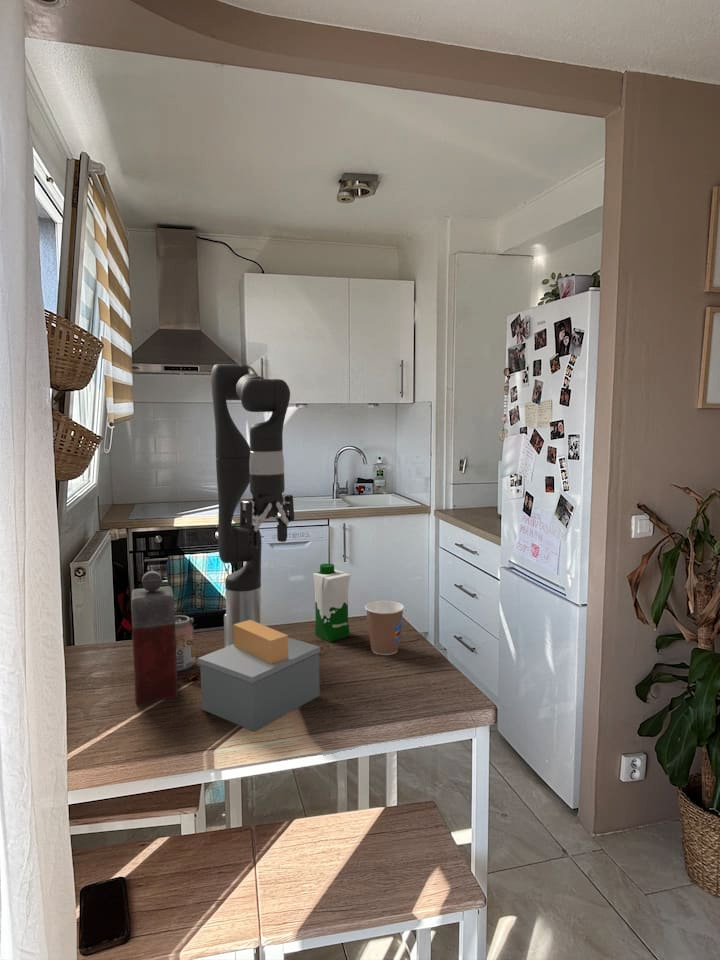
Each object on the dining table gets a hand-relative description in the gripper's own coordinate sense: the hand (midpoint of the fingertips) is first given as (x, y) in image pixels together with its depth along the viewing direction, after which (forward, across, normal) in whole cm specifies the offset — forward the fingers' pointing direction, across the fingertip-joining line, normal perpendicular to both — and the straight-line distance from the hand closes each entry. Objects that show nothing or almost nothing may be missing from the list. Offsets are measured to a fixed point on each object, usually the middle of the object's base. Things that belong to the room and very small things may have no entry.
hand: (268, 544), depth 144 cm
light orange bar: (+23, -5, -2) cm, 23 cm away
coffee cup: (+34, +36, -6) cm, 50 cm away
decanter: (+34, -15, +22) cm, 43 cm away
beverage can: (+34, -3, +30) cm, 46 cm away
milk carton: (+34, +36, +12) cm, 51 cm away
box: (+34, -5, -2) cm, 35 cm away
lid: (+24, -5, -2) cm, 24 cm away
